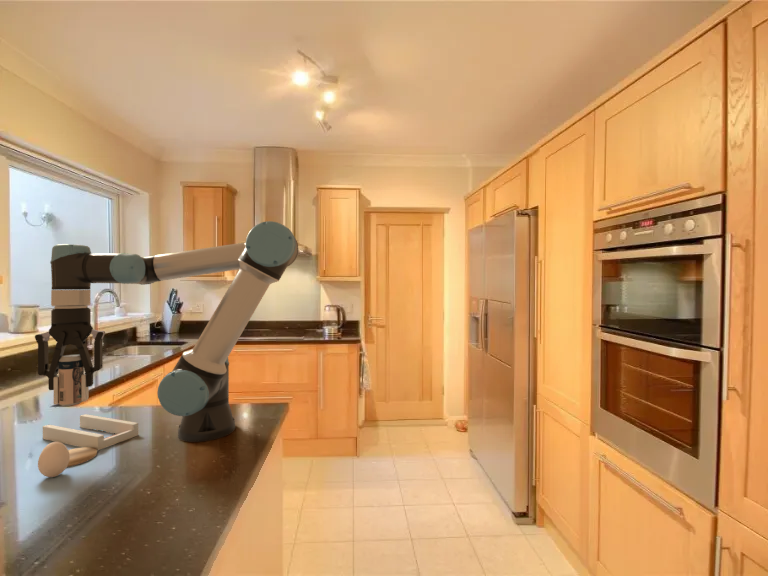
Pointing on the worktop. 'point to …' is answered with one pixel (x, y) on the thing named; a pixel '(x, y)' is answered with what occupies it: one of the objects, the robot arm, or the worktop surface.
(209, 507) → the worktop surface
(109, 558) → the worktop surface
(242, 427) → the worktop surface
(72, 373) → the beer can
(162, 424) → the worktop surface
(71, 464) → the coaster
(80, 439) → the beige u-shaped bracket
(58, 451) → the egg
